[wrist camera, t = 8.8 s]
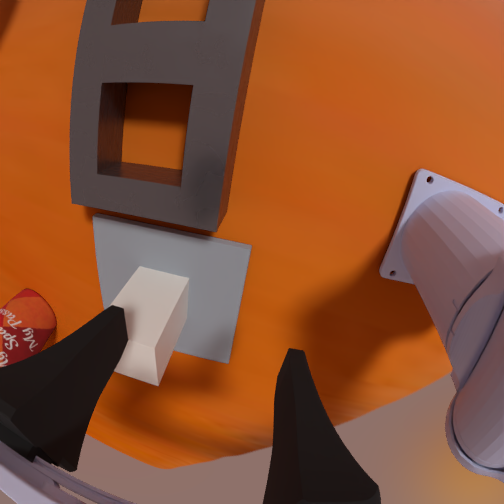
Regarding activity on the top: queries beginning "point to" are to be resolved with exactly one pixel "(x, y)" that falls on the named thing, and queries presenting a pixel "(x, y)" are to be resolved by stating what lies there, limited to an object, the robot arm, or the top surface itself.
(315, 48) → the top surface
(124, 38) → the metal frame
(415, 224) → the robot arm
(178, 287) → the ivory plug
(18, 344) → the coffee cup
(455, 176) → the top surface
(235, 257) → the rubber pad
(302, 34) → the top surface
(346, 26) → the top surface
